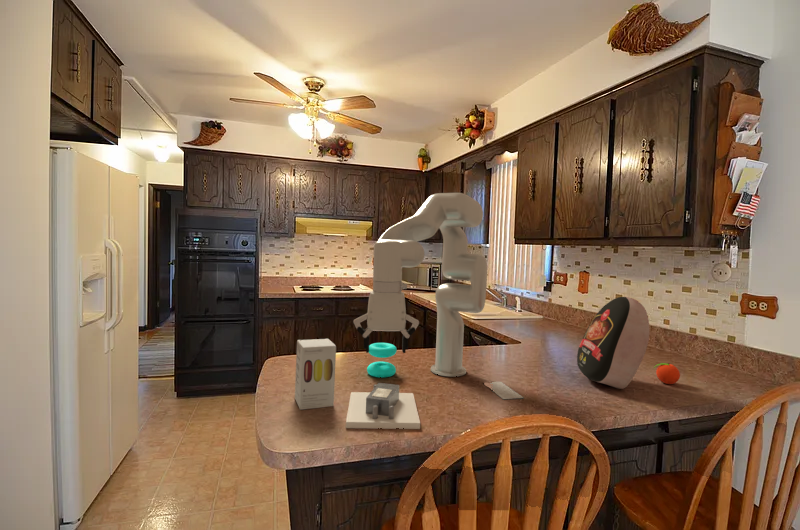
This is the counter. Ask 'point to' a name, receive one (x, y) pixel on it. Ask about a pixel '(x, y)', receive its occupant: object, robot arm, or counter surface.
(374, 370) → the donuts
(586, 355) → the packaged food
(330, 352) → the supplement box
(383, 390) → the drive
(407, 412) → the white peg board
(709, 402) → the counter surface
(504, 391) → the smartphone
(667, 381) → the clementine
